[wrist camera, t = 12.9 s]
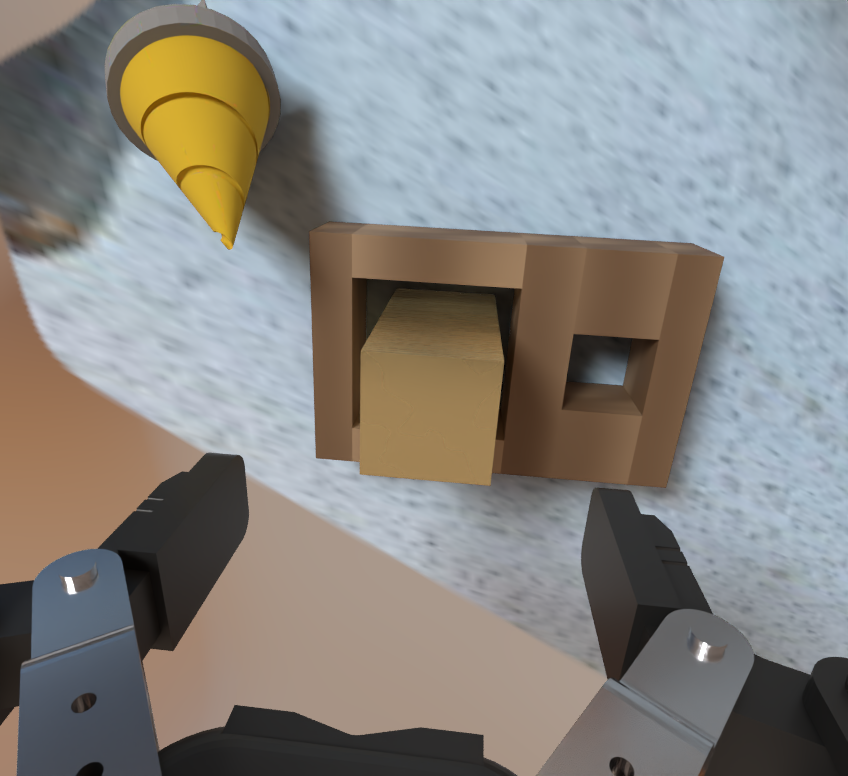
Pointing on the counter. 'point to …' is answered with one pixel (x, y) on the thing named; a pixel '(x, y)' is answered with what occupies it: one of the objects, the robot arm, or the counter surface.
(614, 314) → the bore block
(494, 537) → the counter surface
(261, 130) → the drill bit
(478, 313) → the tan square peg
